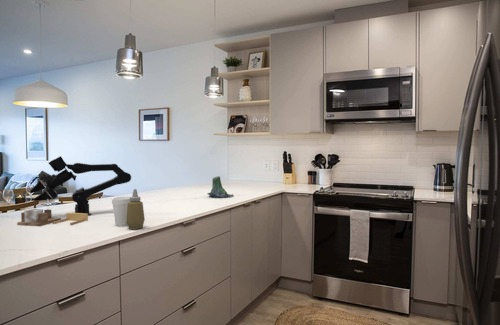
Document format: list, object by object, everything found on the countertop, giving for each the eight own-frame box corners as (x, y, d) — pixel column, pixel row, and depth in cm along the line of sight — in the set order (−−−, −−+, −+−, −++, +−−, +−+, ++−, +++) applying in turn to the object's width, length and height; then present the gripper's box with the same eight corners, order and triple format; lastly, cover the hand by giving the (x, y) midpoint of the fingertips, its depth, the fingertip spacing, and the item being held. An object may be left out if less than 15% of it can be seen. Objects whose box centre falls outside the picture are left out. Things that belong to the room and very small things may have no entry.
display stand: (61, 220, 171) (60, 206, 171) (39, 226, 159) (39, 211, 158) (39, 219, 174) (39, 205, 174) (17, 224, 161) (16, 210, 161)
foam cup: (112, 223, 164) (111, 197, 163) (132, 221, 168) (131, 196, 167) (112, 227, 155) (112, 199, 155) (133, 225, 159) (133, 198, 158)
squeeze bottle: (129, 226, 158) (128, 188, 157) (146, 226, 159) (146, 188, 158) (124, 230, 150) (123, 190, 149) (142, 230, 151) (141, 190, 150)
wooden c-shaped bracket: (87, 220, 172) (87, 213, 171) (71, 225, 161) (71, 217, 161) (69, 219, 174) (69, 212, 174) (52, 223, 163) (52, 216, 163)
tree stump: (239, 197, 253) (234, 175, 249) (215, 206, 243) (210, 182, 240) (227, 193, 269) (223, 172, 265) (205, 201, 259) (200, 179, 255)
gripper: (46, 161, 179) (17, 178, 173) (56, 174, 167) (25, 193, 161) (59, 175, 186) (31, 192, 180) (69, 190, 174) (40, 208, 168)
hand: (31, 196), depth 172 cm, fingers open, 9 cm apart
